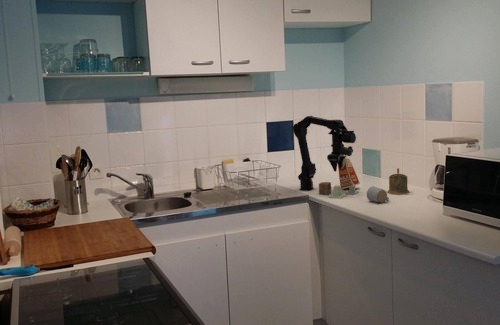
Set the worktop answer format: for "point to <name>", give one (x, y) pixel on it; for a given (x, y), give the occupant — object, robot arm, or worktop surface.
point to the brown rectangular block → (325, 188)
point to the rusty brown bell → (398, 184)
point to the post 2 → (352, 190)
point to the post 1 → (336, 193)
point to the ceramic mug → (377, 194)
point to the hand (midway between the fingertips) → (337, 170)
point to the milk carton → (347, 174)
